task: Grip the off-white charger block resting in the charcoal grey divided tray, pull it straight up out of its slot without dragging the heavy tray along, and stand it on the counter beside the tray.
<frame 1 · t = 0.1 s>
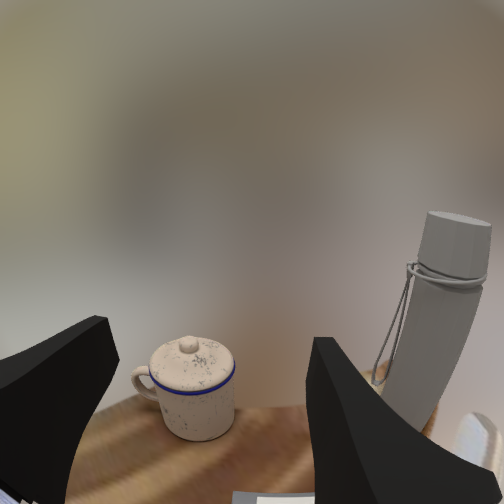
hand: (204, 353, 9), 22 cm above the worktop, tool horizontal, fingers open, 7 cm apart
teacup with lid: (187, 415, 30), on the worktop
water bottle: (389, 422, 27), on the worktop
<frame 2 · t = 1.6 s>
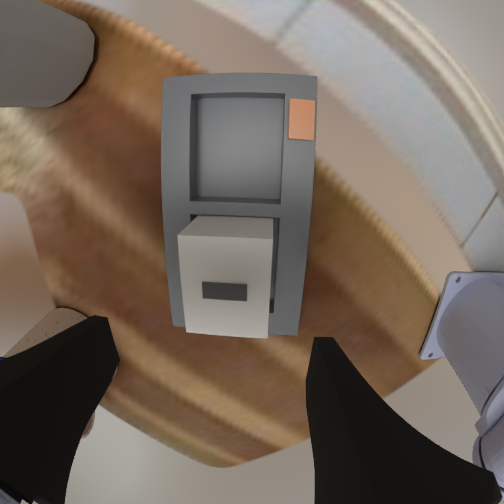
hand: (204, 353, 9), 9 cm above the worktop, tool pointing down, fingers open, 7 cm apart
teacup with lid: (87, 355, 23), on the worktop
charger: (237, 251, 17), resting on grey divided tray
water bottle: (58, 74, 14), on the worktop
grey divided tray: (239, 204, 17), on the worktop, touching charger
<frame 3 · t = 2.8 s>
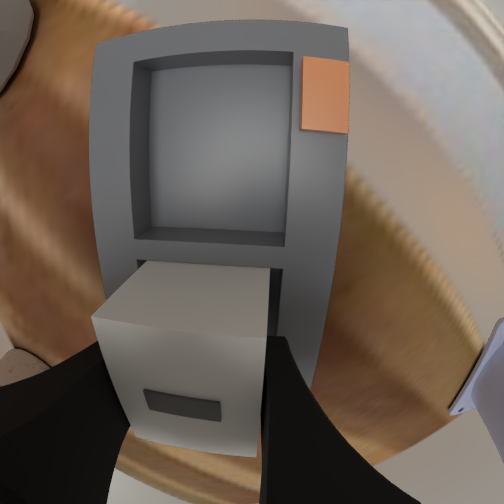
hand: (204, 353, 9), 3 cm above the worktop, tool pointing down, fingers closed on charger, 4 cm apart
teacup with lid: (54, 399, 17), on the worktop
charger: (216, 308, 11), point 1 cm above the worktop, touching gripper, grey divided tray
grey divided tray: (219, 236, 11), on the worktop, touching charger
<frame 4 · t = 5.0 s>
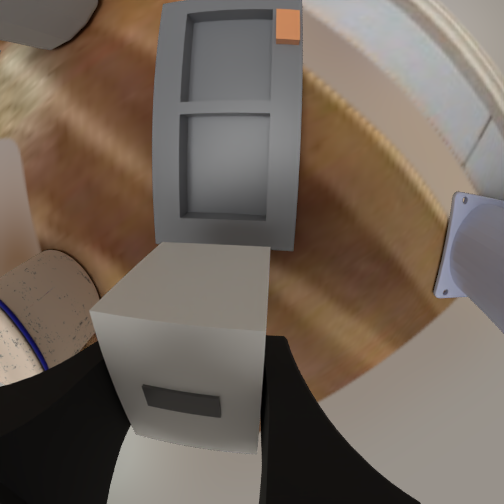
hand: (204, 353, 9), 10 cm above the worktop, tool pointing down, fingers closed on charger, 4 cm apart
teacup with lid: (71, 307, 22), on the worktop
charger: (216, 304, 11), point 8 cm above the worktop, touching gripper
water bottle: (63, 24, 13), on the worktop
grey divided tray: (230, 116, 16), on the worktop
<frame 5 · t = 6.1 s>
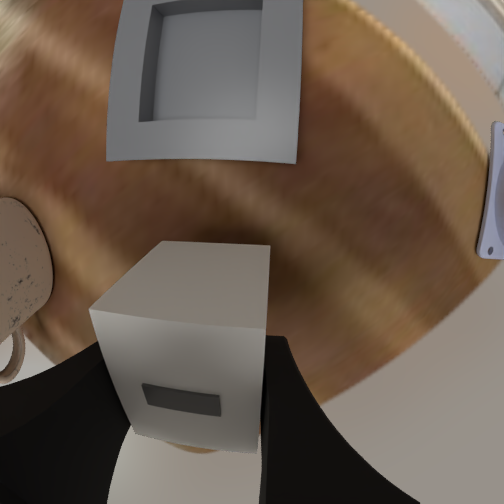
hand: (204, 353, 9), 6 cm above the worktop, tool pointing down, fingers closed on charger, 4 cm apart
teacup with lid: (24, 270, 16), on the worktop
charger: (216, 303, 11), point 3 cm above the worktop, touching gripper
grey divided tray: (216, 17, 10), on the worktop
when the fingers open (3 cm above the worktop, at t = 7.0 s): charger stays where it is, on the worktop.
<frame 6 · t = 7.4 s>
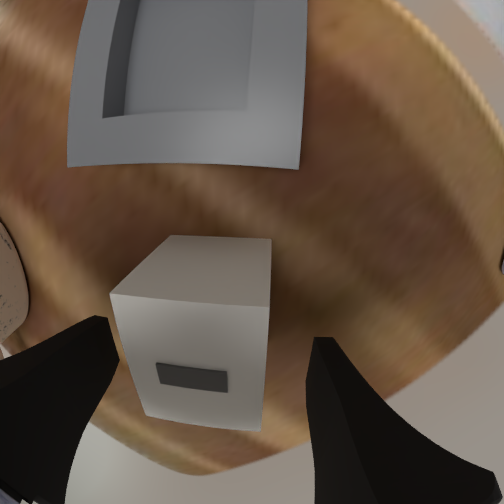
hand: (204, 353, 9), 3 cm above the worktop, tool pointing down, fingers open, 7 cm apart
teacup with lid: (1, 286, 14), on the worktop
charger: (221, 293, 12), on the worktop
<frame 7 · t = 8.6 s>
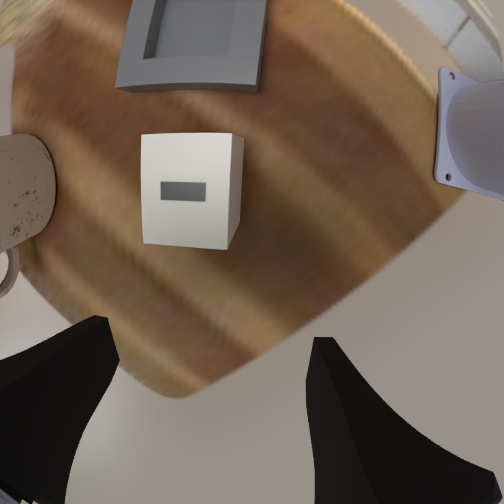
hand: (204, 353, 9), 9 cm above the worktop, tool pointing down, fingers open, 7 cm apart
teacup with lid: (28, 201, 18), on the worktop
charger: (208, 178, 16), on the worktop
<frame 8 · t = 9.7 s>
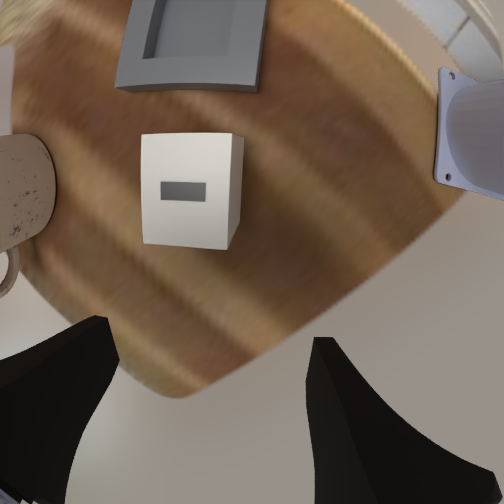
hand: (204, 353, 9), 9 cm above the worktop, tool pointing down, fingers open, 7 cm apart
teacup with lid: (28, 201, 18), on the worktop
charger: (208, 178, 16), on the worktop
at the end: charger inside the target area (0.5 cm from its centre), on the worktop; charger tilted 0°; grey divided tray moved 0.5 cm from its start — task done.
